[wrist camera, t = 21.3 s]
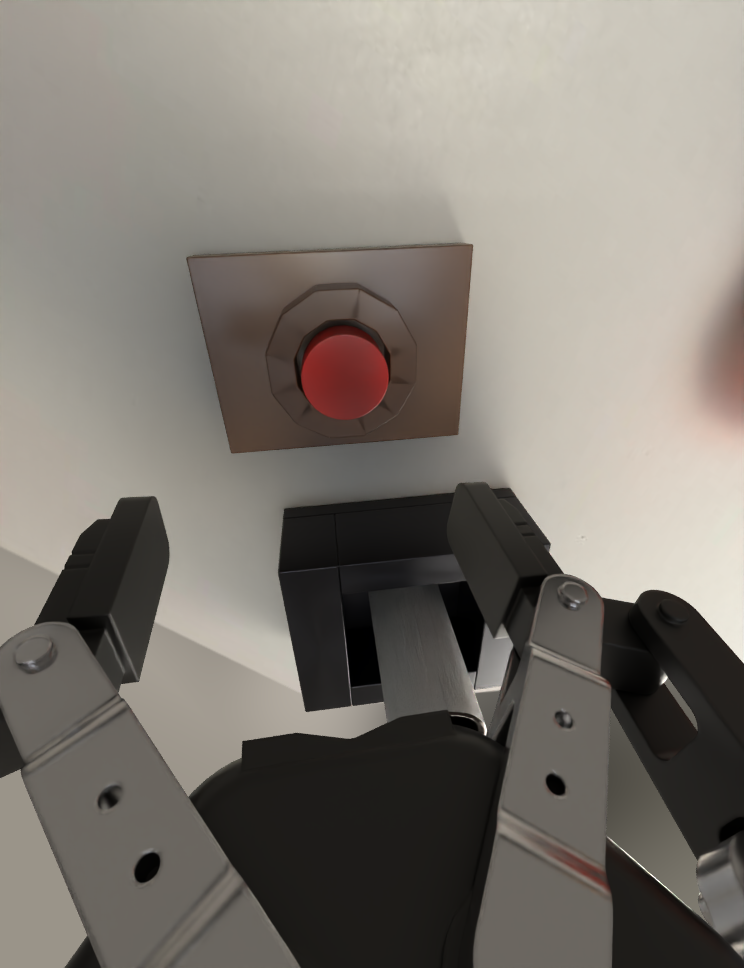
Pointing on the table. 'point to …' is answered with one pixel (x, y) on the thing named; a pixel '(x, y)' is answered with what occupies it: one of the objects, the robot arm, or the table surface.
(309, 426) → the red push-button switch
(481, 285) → the table surface
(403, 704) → the dark grey hollow cylinder
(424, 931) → the robot arm
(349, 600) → the open-top black bin
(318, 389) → the button
